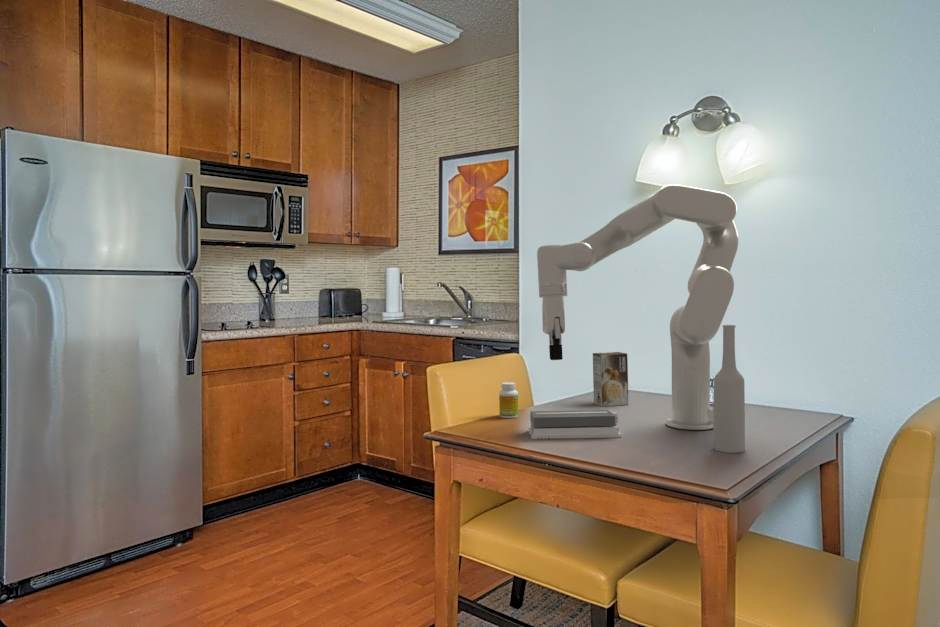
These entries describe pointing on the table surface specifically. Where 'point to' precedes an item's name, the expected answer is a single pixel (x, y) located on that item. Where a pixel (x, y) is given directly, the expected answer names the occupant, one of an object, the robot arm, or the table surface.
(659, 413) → the table surface
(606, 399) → the coffee box
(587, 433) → the duct base
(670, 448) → the table surface
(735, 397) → the bottle
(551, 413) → the block
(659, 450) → the table surface
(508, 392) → the supplement bottle
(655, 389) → the table surface
